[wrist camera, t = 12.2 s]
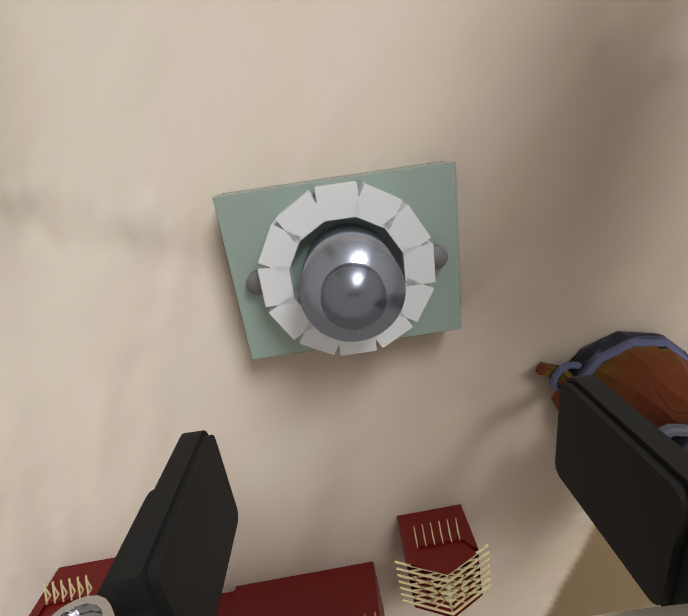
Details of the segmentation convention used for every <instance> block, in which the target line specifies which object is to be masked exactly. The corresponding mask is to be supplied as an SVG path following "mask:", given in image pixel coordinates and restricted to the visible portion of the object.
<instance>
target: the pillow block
mask: <svg viewBox="0 0 688 616" xmlns="http://www.w3.org/2000/svg"><path fill="white" fill-rule="evenodd" d="M213 201H214V206H215V210H216V214H217V218H218V222H219V226H220V230H221V234H222V238H223V242H224V246H225V250H226V254H227V258H228V262H229V267H230V271H231V275H232V279H233V283H234V287H235V291H236V295H237V299H238V303H239V307H240V311H241V315H242V319H243V323H244V328H245V332H246V336H247V340H248V344H249V348H250V352H251V356H252V360H253V359H259V358H266V357H273V356H280V355H287V354H293V353H300V352H307V351H314V350H320V351H323V352H326V353H329V354H332V355H335V352H336V350H337V348H338V347H339V348H340V355H341V356H344V355H351V354H357V353H364V352H371V351H377V347H376V341H377V342H378V343H379V344H380V345H381V346H382V348H384V347H385V346H387V345H388V344H390V343H391V342H393V341H394V340H395V339H397V338H402V337H409V336H415V335H422V334H429V333H436V332H443V331H449V330H456V329H461V305H460V277H459V248H458V220H457V191H456V163H455V162H445V161H441V162H435V163H428V164H421V165H414V166H407V167H400V168H394V169H387V170H380V171H373V172H366V173H360V174H353V175H346V176H339V177H332V178H325V179H319V180H312V181H305V182H298V183H291V184H284V185H278V186H271V187H264V188H257V189H250V190H244V191H237V192H230V193H223V194H220V195H218V196H215V197H213ZM345 223H352V224H358V225H362V226H365V227H367V228H369V229H371V230H372V231H374V232H375V233H376V234H377V235H379V236H380V238H381V239H382V240H383V241H384V243H385V244H386V246H387V248H388V249H389V251H390V252H391V254H392V255H393V257H394V259H395V260H396V262H397V263H398V265H399V267H400V268H401V271H402V273H403V276H404V279H405V285H406V295H405V301H404V305H403V308H402V310H401V312H400V314H399V316H398V318H397V319H396V320H395V322H394V323H393V324H392V325H391V326H390V327H389V328H388V329H387V330H385V331H384V332H383V333H381V334H379V335H378V336H375V337H373V338H371V339H367V340H363V341H357V342H346V341H340V340H336V339H333V338H330V337H328V336H326V335H324V334H323V333H321V332H320V331H319V330H317V329H316V328H315V327H314V326H313V325H312V324H311V323H310V321H309V320H308V319H307V317H306V315H305V313H304V311H303V309H302V306H301V302H300V294H299V293H300V283H301V278H302V273H303V269H304V265H305V260H306V256H307V253H308V250H309V248H310V246H311V244H312V242H313V241H314V240H315V238H316V237H317V236H318V235H319V234H321V233H322V232H323V231H325V230H326V229H328V228H330V227H332V226H335V225H339V224H345Z"/></svg>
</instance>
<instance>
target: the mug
mask: <svg viewBox="0 0 688 616" xmlns="http://www.w3.org/2000/svg"><path fill="white" fill-rule="evenodd" d="M536 372H537V373H538V374H539V375H544V376H548V377H550V378H551V379H550V385H551V388H552V390H554V391H556V393H555V394H554V395H553V397H552V398H551V399H552V400H553V402H554V404H555V406H556V407H557V409H558V410H559V400H560V388H561V385H562V384H566V380H567V379H568V378H570V377H576V376H583V375H594V376H595V377H597V378H598V379H599V380H600V381H602V382H603V383H604V384H605V385H606V386H608V387H609V388H610V389H611V390H612V391H614V392H615V393H616V394H617V395H619V396H620V397H621V398H622V399H623V400H625V401H626V402H627V403H628V404H629V405H631V406H632V407H633V408H634V409H636V410H637V411H638V412H639V413H640V414H642V415H643V416H644V417H645V418H646V419H648V420H649V421H650V422H651V423H653V424H654V425H655V426H656V427H657V428H659V429H660V430H661V431H662V432H663V433H665V434H666V435H667V436H668V437H670V438H671V439H672V440H673V441H674V442H676V443H677V444H678V445H679V446H680V447H682V448H683V449H684V450H685V451H687V452H688V355H687V353H686V352H685V351H684V350H682V349H681V348H680V347H678V346H677V345H676V344H674V343H673V342H671V341H670V340H669V339H667V338H666V337H665V336H663V335H660V334H656V333H642V332H619V331H618V332H615V333H613V334H611V335H609V336H607V337H605V338H602V339H600V340H598V341H596V342H594V343H592V344H590V345H588V346H586V347H584V348H583V349H582V350H581V351H580V353H579V354H578V355H577V356H576V357H575V359H574V360H573V361H572V362H566V363H564V364H562V365H560V366H559V365H553V364H545V363H540V364H539V366H538V368H537V369H536ZM557 383H559V384H560V386H558V384H557Z"/></svg>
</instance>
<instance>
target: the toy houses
mask: <svg viewBox="0 0 688 616" xmlns="http://www.w3.org/2000/svg"><path fill="white" fill-rule="evenodd" d="M397 517H398V523H399V528H400V534H401V539H402V545H403V550H404V556H405V561H406V563H403V562H399V561H395V563H397V564H401V565H405V566H407V570H405V569H401V568H397V567H396V570H400V571H404V572H408V575H409V577H408V576H404V575H400V574H398V575H397V576H399V577H403V578H407V579H409V580H410V583H408V582H404V581H400V580H399V583H402V584H406V585H410V586H411V589H412V590H411V589H408V588H404V587H400V589H402V590H406V591H410V592H412V594H413V596H412V595H408V594H404V593H401V595H403V596H406V597H410V598H413V599H414V602H412V601H409V600H405V599H403V600H402V601H404V602H407V603H411V604H414V605H415V607H416V608H420V609H424V610H427V611H431V612H434V613H438V614H441V615H445V616H457V615H458V614H460V613H461V612H462V611H463V610H465V609H466V608H467V607H468V606H470V605H471V604H472V603H473V602H475V601H476V600H477V599H478V598H480V597H481V596H482V595H483V594H482V592H484V591H485V590H486V589H487V588H489V587H490V586H491V585H492V584H491V583H490V584H488V585H487V586H486V587H485V588H483V589H482V588H481V587H482V586H483V585H484V584H485V583H487V582H488V581H489V580H490V579H492V578H491V577H489V578H488V579H486V580H485V581H484V582H483V583H481V580H482V579H483V578H484V577H486V576H487V575H488V574H489V573H491V571H490V570H489V571H488V572H487V573H485V574H484V575H483V576H481V577H480V574H481V573H482V572H483V571H484V570H486V569H487V568H488V567H490V566H491V565H490V564H488V565H487V566H486V567H484V568H483V569H482V570H480V567H481V566H482V565H483V564H484V563H486V562H487V561H488V560H490V558H489V557H488V558H487V559H486V560H484V561H483V562H482V563H480V564H479V560H480V559H482V558H483V557H484V556H486V555H487V554H488V553H490V552H489V551H487V552H485V553H484V554H483V555H481V556H480V557H479V553H480V552H481V551H483V550H484V549H485V548H487V547H488V546H489V545H488V544H487V545H485V546H484V547H482V548H481V549H480V550H479V549H478V547H477V544H476V542H475V539H474V537H473V534H472V532H471V529H470V527H469V524H468V522H467V519H466V517H465V514H464V512H463V509H462V507H461V504H460V505H455V506H449V507H444V508H438V509H433V510H427V511H422V512H416V513H411V514H406V515H400V516H397ZM114 559H115V558H110V559H104V560H99V561H93V562H88V563H82V564H77V565H72V566H66V567H61V568H59V569H58V570H57V572H56V574H55V575H54V577H53V578H52V580H51V581H50V583H49V585H48V586H47V588H46V583H44V584H43V585H44V593H43V594H42V596H41V597H40V599H39V600H38V602H37V604H36V605H35V607H34V608H33V610H32V612H31V613H30V615H29V616H52V615H53V614H54V613H56V612H57V611H58V610H59V609H60V608H62V607H64V606H65V605H67V604H69V603H71V602H72V601H74V600H77V599H80V598H83V597H85V596H95V595H97V593H98V591H99V589H100V587H101V585H102V583H103V581H104V579H105V577H106V575H107V573H108V571H109V569H110V567H111V565H112V563H113V561H114ZM217 616H385V615H384V608H383V603H382V599H381V595H380V590H379V586H378V581H377V577H376V572H375V568H374V563H373V562H367V563H362V564H356V565H351V566H345V567H340V568H334V569H329V570H324V571H318V572H313V573H307V574H302V575H296V576H291V577H285V578H280V579H274V580H269V581H263V582H258V583H252V584H247V585H241V586H236V589H235V591H233V592H228V593H222V594H221V598H220V603H219V607H218V611H217Z"/></svg>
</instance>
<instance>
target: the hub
mask: <svg viewBox="0 0 688 616" xmlns="http://www.w3.org/2000/svg"><path fill="white" fill-rule="evenodd" d="M299 294H300V302H301V306H302V309H303V311H304V313H305V315H306V317H307V319H308V320H309V321H310V323H311V324H312V325H313V326H314V327H315V328H316V329H317V330H319V331H320V332H321V333H323V334H324V335H326V336H328V337H330V338H333V339H336V340H340V341H346V342H357V341H363V340H367V339H371V338H373V337H375V336H378V335H379V334H381V333H383V332H384V331H385V330H387V329H388V328H389V327H390V326H391V325H392V324H393V323H394V322H395V320H396V319H397V318H398V316H399V314H400V312H401V310H402V308H403V305H404V301H405V295H406V285H405V279H404V276H403V273H402V271H401V268H400V267H399V265H398V263H397V262H396V260H395V259H394V257H393V255H392V254H391V252H390V251H389V249H388V248H387V246H386V244H385V243H384V241H383V240H382V239H381V238H380V236H379V235H377V234H376V233H375V232H374V231H372V230H371V229H369V228H367V227H365V226H362V225H358V224H352V223H345V224H339V225H335V226H332V227H330V228H328V229H326V230H325V231H323V232H322V233H321V234H319V235H318V236H317V237H316V238H315V240H314V241H313V242H312V244H311V246H310V248H309V250H308V253H307V256H306V260H305V265H304V269H303V273H302V278H301V283H300V293H299Z"/></svg>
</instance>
